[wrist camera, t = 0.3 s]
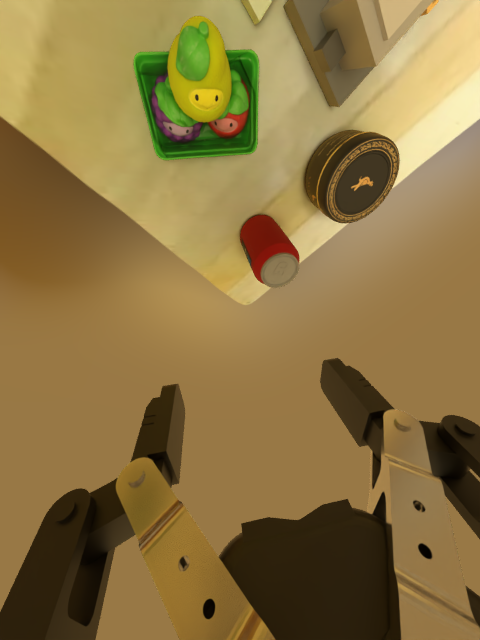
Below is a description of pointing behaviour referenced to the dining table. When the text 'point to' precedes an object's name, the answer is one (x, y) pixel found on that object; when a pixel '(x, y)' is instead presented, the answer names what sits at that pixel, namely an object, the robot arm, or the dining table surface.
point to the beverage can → (269, 251)
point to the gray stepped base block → (350, 37)
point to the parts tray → (256, 8)
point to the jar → (352, 174)
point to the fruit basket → (200, 95)
